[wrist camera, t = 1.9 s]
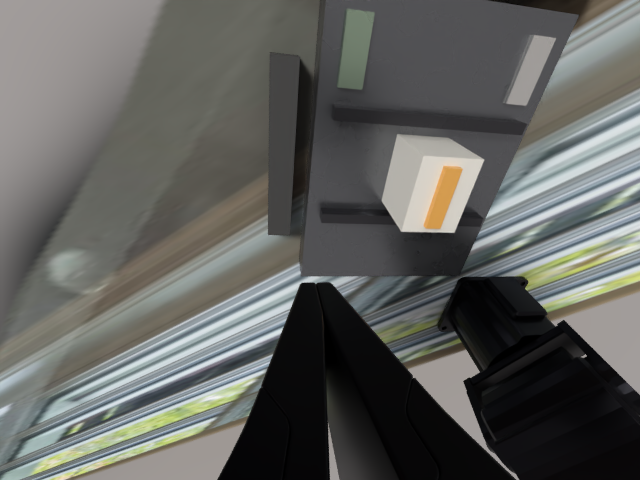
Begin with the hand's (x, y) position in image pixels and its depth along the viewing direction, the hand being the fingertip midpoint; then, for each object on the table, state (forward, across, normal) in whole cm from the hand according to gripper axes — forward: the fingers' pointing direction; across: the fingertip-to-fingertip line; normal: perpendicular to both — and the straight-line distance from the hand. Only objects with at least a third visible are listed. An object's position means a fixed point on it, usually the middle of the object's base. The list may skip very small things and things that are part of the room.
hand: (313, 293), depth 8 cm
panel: (+12, -7, 0) cm, 14 cm away
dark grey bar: (+12, +1, 0) cm, 12 cm away
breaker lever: (+10, -7, 0) cm, 12 cm away
